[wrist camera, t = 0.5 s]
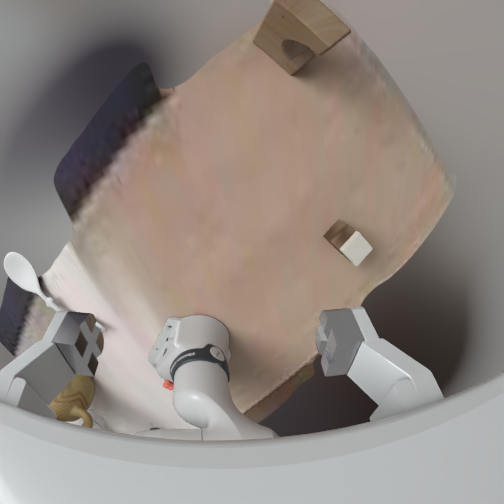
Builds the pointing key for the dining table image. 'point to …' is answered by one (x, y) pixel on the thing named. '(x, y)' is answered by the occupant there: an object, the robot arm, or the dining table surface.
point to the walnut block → (348, 242)
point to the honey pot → (97, 421)
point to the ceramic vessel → (75, 401)
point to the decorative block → (298, 32)
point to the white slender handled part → (29, 278)
